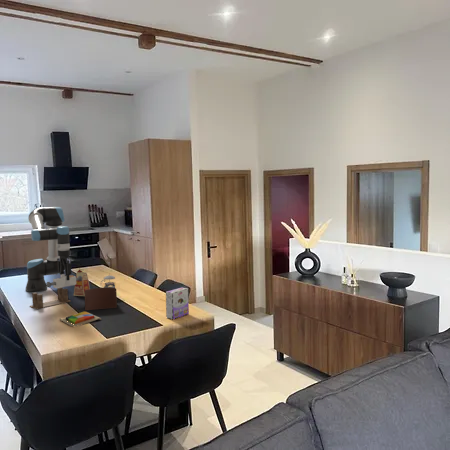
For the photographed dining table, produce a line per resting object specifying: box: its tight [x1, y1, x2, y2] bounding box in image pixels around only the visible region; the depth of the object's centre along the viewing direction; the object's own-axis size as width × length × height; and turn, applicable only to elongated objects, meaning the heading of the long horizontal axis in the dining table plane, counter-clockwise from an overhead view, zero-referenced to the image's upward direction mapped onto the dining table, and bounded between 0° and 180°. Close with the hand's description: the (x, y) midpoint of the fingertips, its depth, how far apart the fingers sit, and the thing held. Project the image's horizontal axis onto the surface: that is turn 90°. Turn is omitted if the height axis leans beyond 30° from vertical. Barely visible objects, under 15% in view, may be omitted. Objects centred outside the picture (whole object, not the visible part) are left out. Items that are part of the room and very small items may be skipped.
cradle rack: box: [29, 287, 72, 310], centre depth 288 cm, size 10×24×9 cm, turn 142°
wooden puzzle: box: [58, 310, 102, 327], centre depth 253 cm, size 18×19×4 cm
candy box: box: [165, 287, 190, 320], centre depth 258 cm, size 14×6×16 cm, turn 141°
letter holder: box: [84, 286, 118, 311], centre depth 280 cm, size 10×20×14 cm, turn 108°
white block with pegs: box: [46, 274, 82, 289], centre depth 284 cm, size 5×24×6 cm, turn 142°
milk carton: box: [73, 268, 91, 297], centre depth 313 cm, size 9×9×20 cm
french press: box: [99, 261, 116, 288], centre depth 306 cm, size 10×12×25 cm
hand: (65, 284), depth 285 cm, fingers closed on white block with pegs, 5 cm apart
